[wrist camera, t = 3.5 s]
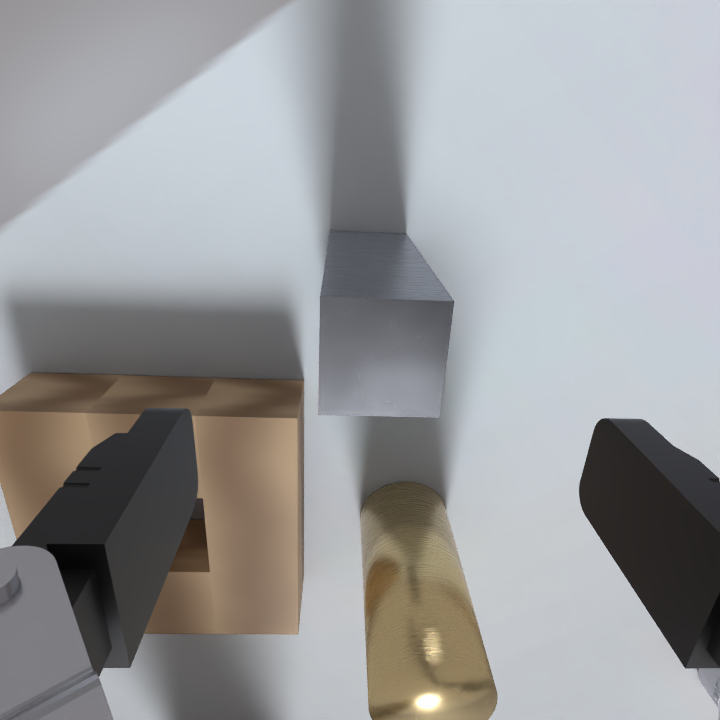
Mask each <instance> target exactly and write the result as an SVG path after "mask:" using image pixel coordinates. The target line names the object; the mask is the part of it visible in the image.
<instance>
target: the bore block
mask: <svg viewBox="0 0 720 720" xmlns="http://www.w3.org/2000/svg"><path fill="white" fill-rule="evenodd" d="M146 408H187V409H189V410H190V412H191V415H192V421H193V431H194V440H195V450H196V460H197V470H198V493H197V498H203V505H204V515H205V519H190V520H189V522H188V525H187V527H186V530H185V532H184V535H183V537H182V540H181V542H180V545H179V547H178V550H177V552H176V555H175V557H174V560H173V562H172V565H171V567H170V570H169V572H168V575H167V577H166V580H165V582H164V585H163V587H162V590H161V592H160V595H159V597H158V600H157V602H156V605H155V607H154V609H153V612H152V614H151V617H150V619H149V622H148V624H147V627H146V629H145V632H144V633H152V634H298V632H299V621H300V610H301V599H302V589H303V575H304V380H275V379H240V378H206V377H171V376H137V375H102V374H68V373H33V372H31V373H30V374H28V375H27V376H26V377H24V378H23V379H22V380H20V381H19V382H18V383H16V384H15V385H13V386H12V387H11V388H9V389H8V390H7V391H5V392H4V393H2V394H1V395H0V483H1V487H2V490H3V494H4V497H5V501H6V504H7V508H8V511H9V514H10V518H11V521H12V525H13V528H14V532H15V535H16V539H18V538H19V537H20V535H21V534H22V533H23V532H24V531H25V529H26V528H27V527H28V526H29V524H30V523H31V522H32V521H33V519H34V518H35V517H36V516H37V515H38V513H39V512H40V511H41V510H42V508H43V507H44V506H45V505H46V504H47V502H48V501H49V500H50V499H51V497H52V496H53V495H54V494H55V493H56V491H57V490H58V489H59V488H60V487H63V483H64V482H65V480H66V479H67V478H68V477H69V475H70V474H71V473H72V472H73V471H76V467H77V466H78V464H79V463H80V462H81V461H82V459H83V458H84V457H85V456H86V455H87V453H88V452H89V451H90V450H91V448H93V447H95V446H96V445H98V444H99V443H101V442H102V441H104V440H105V439H107V438H109V437H110V436H112V435H113V434H115V433H128V432H129V430H130V429H131V427H132V426H133V425H134V423H135V422H136V421H137V419H138V418H139V417H140V415H141V414H142V413H143V411H144V410H145V409H146Z"/></svg>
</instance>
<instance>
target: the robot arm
mask: <svg viewBox="0 0 720 720" xmlns="http://www.w3.org/2000/svg"><path fill="white" fill-rule="evenodd" d="M197 493H198V470H197V460H196V450H195V440H194V431H193V421H192V415H191V412H190V410H189V409H187V408H146V409H145V410H144V411H143V413H142V414H141V415H140V417H139V418H138V419H137V421H136V422H135V423H134V425H133V426H132V427H131V429H130V430H129V432H128V433H115V434H113V435H112V436H110V437H109V438H107V439H105V440H104V441H102V442H101V443H99V444H98V445H96V446H95V447H93V448H91V450H90V451H89V452H88V453H87V455H86V456H85V457H84V458H83V459H82V461H81V462H80V463H79V464H78V466H77V467H76V471H73V472H72V473H71V474H70V475H69V477H68V478H67V479H66V480H65V482H64V483H63V487H60V488H59V489H58V490H57V491H56V493H55V494H54V495H53V496H52V497H51V499H50V500H49V501H48V502H47V504H46V505H45V506H44V507H43V508H42V510H41V511H40V512H39V513H38V515H37V516H36V517H35V518H34V519H33V521H32V522H31V523H30V524H29V526H28V527H27V528H26V529H25V531H24V532H23V533H22V534H21V535H20V537H19V538H18V539H17V540H16V542H15V543H14V544H13V545H12V546H11V547H6V548H1V549H0V720H113V717H112V714H111V711H110V708H109V705H108V703H107V700H106V697H105V694H104V691H103V688H102V685H101V682H100V680H99V676H100V673H101V671H102V669H103V668H130V667H131V664H132V662H133V659H134V657H135V654H136V652H137V649H138V647H139V644H140V642H141V639H142V637H143V634H144V632H145V629H146V627H147V624H148V622H149V619H150V617H151V614H152V612H153V609H154V607H155V605H156V602H157V600H158V597H159V595H160V592H161V590H162V587H163V585H164V582H165V580H166V577H167V575H168V572H169V570H170V567H171V565H172V562H173V560H174V557H175V555H176V552H177V550H178V547H179V545H180V542H181V540H182V537H183V535H184V532H185V530H186V527H187V525H188V522H189V520H190V518H191V515H192V513H193V510H194V507H195V504H196V499H197ZM579 497H580V503H581V506H582V509H583V512H584V514H585V516H586V517H587V519H588V520H589V522H590V523H591V525H592V526H593V528H594V529H595V531H596V533H597V534H598V536H599V537H600V539H601V540H602V542H603V543H604V545H605V546H606V548H607V549H608V551H609V552H610V554H611V555H612V557H613V559H614V560H615V562H616V563H617V565H618V566H619V568H620V569H621V571H622V572H623V574H624V575H625V577H626V578H627V580H628V581H629V583H630V585H631V586H632V588H633V589H634V591H635V592H636V594H637V595H638V597H639V598H640V600H641V601H642V603H643V604H644V606H645V607H646V609H647V611H648V612H649V614H650V615H651V617H652V618H653V620H654V621H655V623H656V624H657V626H658V627H659V629H660V630H661V632H662V633H663V635H664V637H665V638H666V640H667V641H668V643H669V644H670V646H671V647H672V649H673V650H674V652H675V653H676V655H677V656H678V658H679V659H680V661H681V663H682V664H683V666H684V667H685V668H698V675H699V678H700V681H701V683H702V685H703V686H704V688H705V689H706V691H707V692H708V694H709V695H710V697H711V698H712V700H713V701H714V703H715V704H716V706H717V707H718V709H719V720H720V482H719V478H718V477H717V476H716V475H715V474H714V473H712V472H711V471H710V470H709V469H708V468H707V467H706V466H705V465H704V464H702V463H701V462H700V461H699V460H697V459H696V458H694V457H692V456H690V455H689V454H687V453H685V452H683V451H682V450H680V449H678V448H676V447H674V446H673V445H672V444H671V443H670V442H668V441H667V440H666V439H665V438H664V437H663V436H662V435H661V434H660V433H659V432H657V431H656V430H655V429H654V428H653V427H652V426H651V425H650V424H649V423H648V422H646V421H645V420H642V419H611V418H604V419H601V420H600V421H599V422H598V423H597V424H596V426H595V429H594V432H593V435H592V439H591V443H590V447H589V450H588V454H587V458H586V462H585V465H584V469H583V473H582V477H581V480H580V486H579Z"/></svg>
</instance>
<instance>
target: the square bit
mask: <svg viewBox="0 0 720 720" xmlns="http://www.w3.org/2000/svg"><path fill="white" fill-rule="evenodd" d="M453 306H454V300H453V299H452V298H451V296H450V295H449V293H448V292H447V290H446V289H445V288H444V286H443V285H442V283H441V282H440V281H439V279H438V278H437V276H436V275H435V273H434V272H433V271H432V269H431V268H430V266H429V265H428V264H427V262H426V261H425V259H424V258H423V256H422V255H421V254H420V252H419V251H418V249H417V248H416V247H415V245H414V244H413V242H412V241H411V239H410V238H409V237H408V235H407V234H398V233H375V232H351V231H330V235H329V241H328V248H327V255H326V261H325V268H324V275H323V281H322V288H321V295H320V346H319V410H318V415H349V416H389V417H429V418H440V410H441V402H442V394H443V386H444V378H445V370H446V362H447V354H448V346H449V338H450V330H451V322H452V314H453Z"/></svg>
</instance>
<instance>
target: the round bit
mask: <svg viewBox="0 0 720 720" xmlns="http://www.w3.org/2000/svg"><path fill="white" fill-rule="evenodd" d="M360 523H361V545H362V568H363V590H364V613H365V635H366V658H367V680H368V703H369V712H370V716H371V718H372V720H488V719H489V718H490V716H491V715H492V714H493V712H494V710H495V707H496V704H497V691H496V687H495V684H494V680H493V676H492V673H491V669H490V666H489V662H488V659H487V655H486V651H485V648H484V644H483V641H482V637H481V634H480V630H479V626H478V623H477V619H476V616H475V612H474V609H473V605H472V601H471V598H470V594H469V591H468V587H467V584H466V580H465V576H464V573H463V569H462V566H461V562H460V559H459V555H458V551H457V548H456V544H455V541H454V537H453V534H452V530H451V526H450V523H449V519H448V516H447V512H446V509H445V505H444V503H443V501H442V499H441V498H440V496H439V495H438V494H437V493H436V492H435V491H433V490H432V489H430V488H429V487H427V486H425V485H422V484H419V483H414V482H398V483H393V484H389V485H386V486H384V487H382V488H380V489H378V490H377V491H375V492H374V493H373V494H372V495H370V497H369V498H368V499H367V500H366V502H365V503H364V505H363V507H362V510H361V515H360Z"/></svg>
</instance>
